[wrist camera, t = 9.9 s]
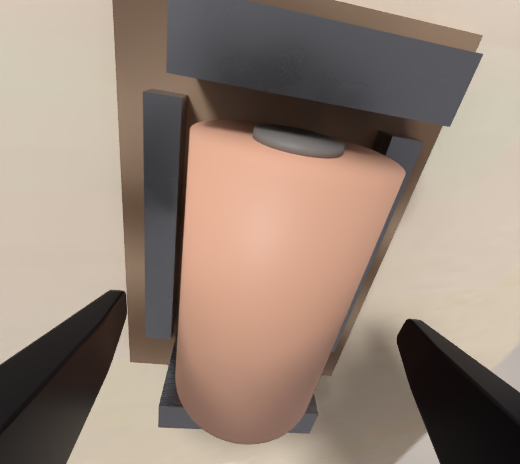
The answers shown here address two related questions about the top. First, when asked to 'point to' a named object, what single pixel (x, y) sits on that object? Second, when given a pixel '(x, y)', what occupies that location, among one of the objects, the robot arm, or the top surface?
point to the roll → (270, 268)
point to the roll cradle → (267, 111)
